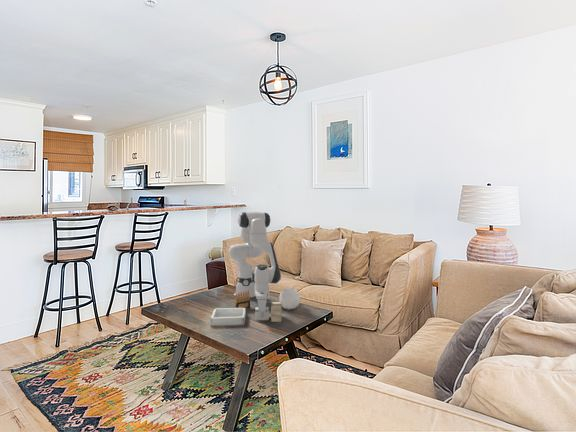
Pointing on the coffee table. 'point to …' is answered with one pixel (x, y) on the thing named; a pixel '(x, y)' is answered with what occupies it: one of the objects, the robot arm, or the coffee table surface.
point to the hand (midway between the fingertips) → (262, 314)
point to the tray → (228, 316)
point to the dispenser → (275, 311)
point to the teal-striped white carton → (258, 315)
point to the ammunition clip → (242, 300)
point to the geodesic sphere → (289, 298)
